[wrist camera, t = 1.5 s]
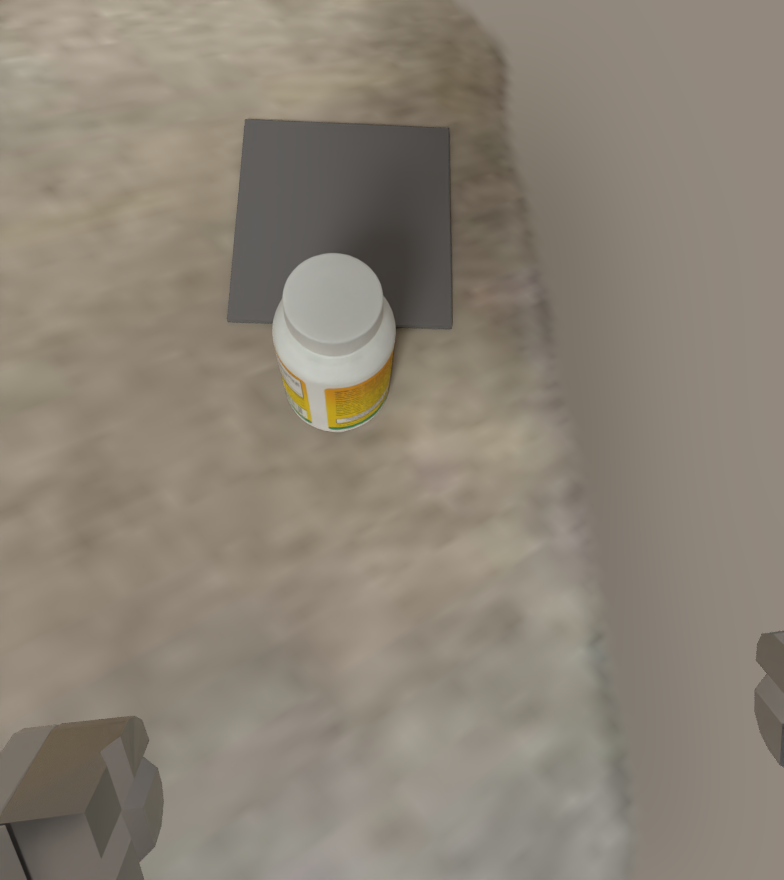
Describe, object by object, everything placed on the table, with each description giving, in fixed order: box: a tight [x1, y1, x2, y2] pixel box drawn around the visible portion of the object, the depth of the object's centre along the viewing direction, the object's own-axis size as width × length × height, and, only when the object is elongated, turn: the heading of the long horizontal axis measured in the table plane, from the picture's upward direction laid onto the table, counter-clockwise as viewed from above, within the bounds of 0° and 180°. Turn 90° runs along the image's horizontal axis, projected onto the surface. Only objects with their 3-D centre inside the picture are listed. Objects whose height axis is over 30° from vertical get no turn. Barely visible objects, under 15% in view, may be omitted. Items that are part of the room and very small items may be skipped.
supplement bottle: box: [272, 253, 396, 432], centre depth 32 cm, size 5×5×10 cm
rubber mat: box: [227, 119, 452, 329], centre depth 39 cm, size 12×13×1 cm
